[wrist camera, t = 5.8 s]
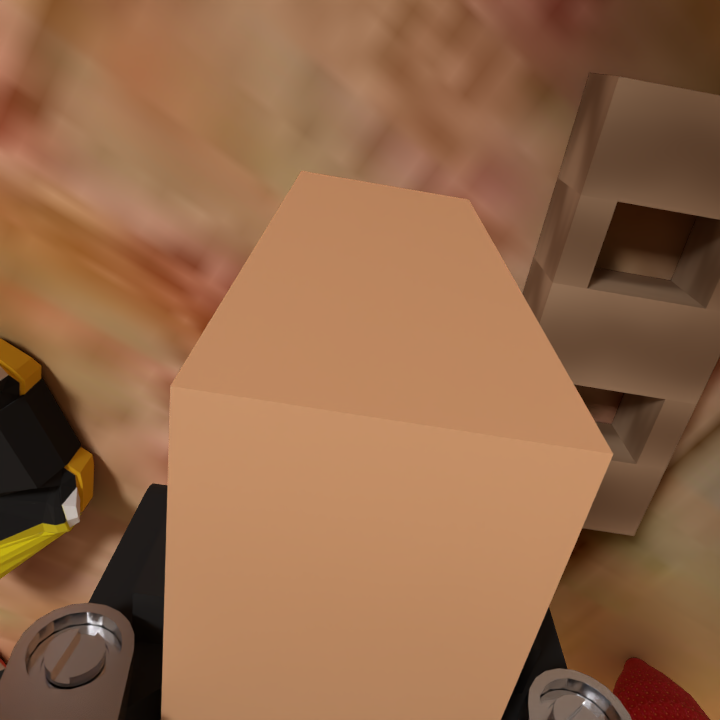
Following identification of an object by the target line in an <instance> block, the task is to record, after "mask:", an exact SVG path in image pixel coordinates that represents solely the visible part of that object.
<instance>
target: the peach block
mask: <svg viewBox="0 0 720 720" xmlns="http://www.w3.org/2000/svg"><path fill="white" fill-rule="evenodd" d="M612 456H613V453H612V451H611V449H610V447H609V446H608V444H607V442H606V440H605V438H604V437H603V435H602V433H601V431H600V430H599V428H598V426H597V424H596V423H595V421H594V419H593V417H592V416H591V414H590V412H589V410H588V409H587V407H586V405H585V403H584V402H583V400H582V398H581V396H580V395H579V393H578V391H577V389H576V387H575V386H574V384H573V382H572V380H571V379H570V377H569V375H568V373H567V372H566V370H565V368H564V366H563V365H562V363H561V361H560V359H559V358H558V356H557V354H556V352H555V351H554V349H553V347H552V345H551V343H550V342H549V340H548V338H547V336H546V335H545V333H544V331H543V329H542V328H541V326H540V324H539V322H538V321H537V319H536V317H535V315H534V314H533V312H532V310H531V308H530V307H529V305H528V303H527V301H526V300H525V298H524V296H523V294H522V292H521V291H520V289H519V287H518V285H517V284H516V282H515V280H514V278H513V277H512V275H511V273H510V271H509V270H508V268H507V266H506V264H505V263H504V261H503V259H502V257H501V256H500V254H499V252H498V250H497V249H496V247H495V245H494V243H493V241H492V240H491V238H490V236H489V234H488V233H487V231H486V229H485V227H484V226H483V224H482V222H481V220H480V219H479V217H478V215H477V213H476V212H475V210H474V208H473V206H472V205H471V203H470V201H469V200H468V199H462V198H457V197H451V196H445V195H439V194H433V193H428V192H422V191H416V190H410V189H404V188H399V187H393V186H387V185H381V184H375V183H369V182H364V181H358V180H352V179H346V178H340V177H335V176H329V175H323V174H317V173H311V172H306V171H301V172H300V174H299V176H298V177H297V179H296V180H295V182H294V184H293V185H292V187H291V189H290V190H289V192H288V194H287V195H286V197H285V199H284V200H283V202H282V203H281V205H280V207H279V208H278V210H277V212H276V213H275V215H274V217H273V218H272V220H271V222H270V223H269V225H268V226H267V228H266V230H265V231H264V233H263V235H262V236H261V238H260V240H259V241H258V243H257V245H256V246H255V248H254V249H253V251H252V253H251V254H250V256H249V258H248V259H247V261H246V263H245V264H244V266H243V268H242V269H241V271H240V272H239V274H238V276H237V277H236V279H235V281H234V282H233V284H232V286H231V287H230V289H229V291H228V292H227V294H226V295H225V297H224V299H223V300H222V302H221V304H220V305H219V307H218V309H217V310H216V312H215V314H214V315H213V317H212V318H211V320H210V322H209V323H208V325H207V327H206V328H205V330H204V332H203V333H202V335H201V337H200V338H199V340H198V341H197V343H196V345H195V346H194V348H193V350H192V351H191V353H190V355H189V356H188V358H187V360H186V361H185V363H184V364H183V366H182V368H181V369H180V371H179V373H178V374H177V376H176V378H175V379H174V381H173V383H172V384H171V386H170V417H169V452H168V488H167V523H166V559H165V594H164V630H163V666H162V701H161V720H501V718H502V716H503V713H504V711H505V709H506V706H507V704H508V702H509V699H510V697H511V694H512V692H513V690H514V687H515V685H516V683H517V680H518V678H519V676H520V673H521V671H522V669H523V666H524V664H525V661H526V659H527V657H528V654H529V652H530V650H531V647H532V645H533V643H534V640H535V638H536V636H537V633H538V631H539V628H540V626H541V624H542V621H543V619H544V617H545V614H546V612H547V610H548V607H549V605H550V602H551V600H552V598H553V595H554V593H555V591H556V588H557V586H558V584H559V581H560V579H561V577H562V574H563V572H564V569H565V567H566V565H567V562H568V560H569V558H570V555H571V553H572V551H573V548H574V546H575V544H576V541H577V539H578V536H579V534H580V532H581V529H582V527H583V525H584V522H585V520H586V518H587V515H588V513H589V510H590V508H591V506H592V503H593V501H594V499H595V496H596V494H597V492H598V489H599V487H600V485H601V482H602V480H603V477H604V475H605V473H606V470H607V468H608V466H609V463H610V461H611V459H612Z"/></svg>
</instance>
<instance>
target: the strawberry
mask: <svg viewBox="0 0 720 720" xmlns="http://www.w3.org/2000/svg"><path fill="white" fill-rule="evenodd" d="M613 694H614V695H615V696H616V697H617V698H618V699H619V700H620V701H621V703H622V704H623V706H624V707H625V709H626V710H627V712H628V713H629V715H630V717H631V719H632V720H710V719H709V718H708V716H707V715H706V714H705V713H704V711H703V710H702V709H701V708H700V706H699V705H698V704H697V702H696V701H695V700H694V699H693V698H692V696H691V695H690V694H688V693H687V692H686V691H685V690H683V689H682V688H681V687H680V686H678V685H677V684H676V683H674V682H673V681H672V680H671V679H669V678H668V677H667V676H666V675H664V674H663V673H661V672H659V671H658V670H656V669H654V668H653V667H651V666H649V665H648V664H647V663H645V662H644V661H642V660H641V659H638V658H630V659H628V660H627V661H626V663H625V665H624V669H623V671H622V673H621V675H620V676H619V678H618V680H617V682H616V684H615V687H614V690H613Z"/></svg>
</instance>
